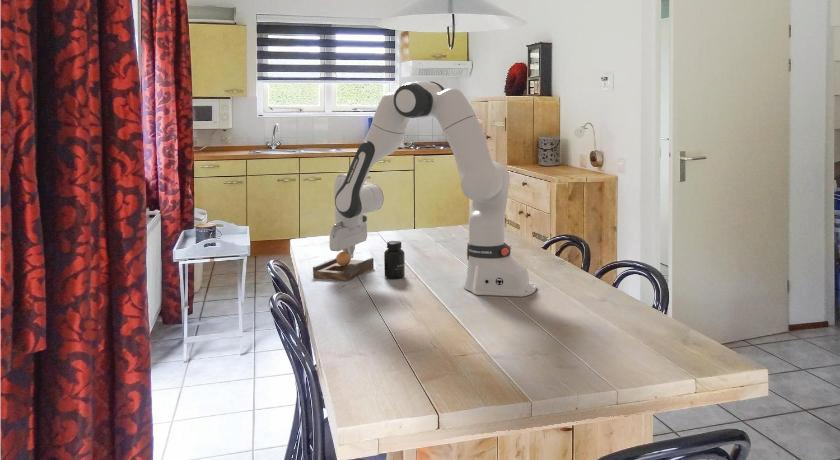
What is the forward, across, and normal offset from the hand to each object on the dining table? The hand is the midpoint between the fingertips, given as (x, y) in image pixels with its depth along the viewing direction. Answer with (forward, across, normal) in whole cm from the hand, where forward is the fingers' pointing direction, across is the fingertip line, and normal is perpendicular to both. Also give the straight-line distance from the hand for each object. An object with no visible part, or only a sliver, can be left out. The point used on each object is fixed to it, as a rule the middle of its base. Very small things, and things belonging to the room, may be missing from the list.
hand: (349, 258), depth 235 cm
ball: (-1, -4, 0) cm, 4 cm away
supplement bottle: (+4, -3, -19) cm, 20 cm away
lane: (+4, -4, 0) cm, 6 cm away
